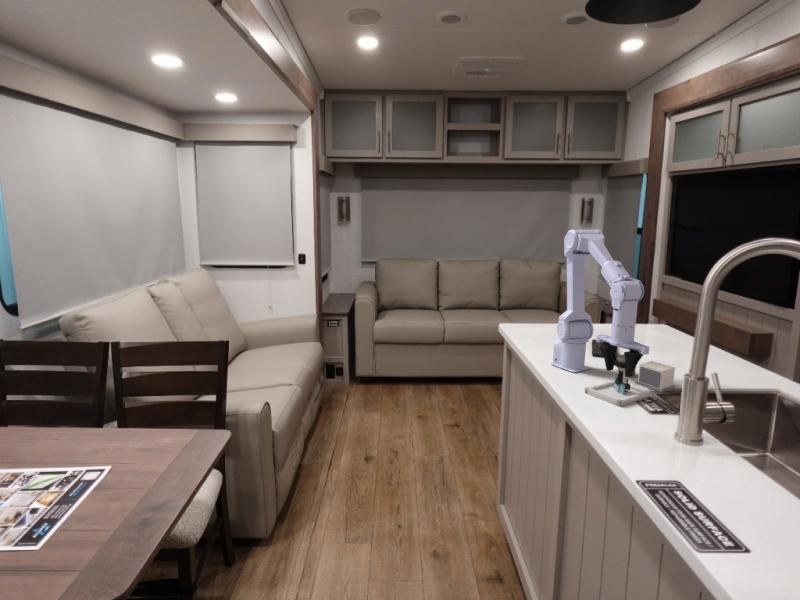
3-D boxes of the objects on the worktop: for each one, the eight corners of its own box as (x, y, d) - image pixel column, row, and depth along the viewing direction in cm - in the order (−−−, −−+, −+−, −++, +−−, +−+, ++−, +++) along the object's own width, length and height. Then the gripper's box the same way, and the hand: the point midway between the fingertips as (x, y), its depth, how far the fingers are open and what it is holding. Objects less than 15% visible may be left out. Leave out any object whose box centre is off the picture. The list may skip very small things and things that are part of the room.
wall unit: (635, 383, 144) (637, 363, 143) (649, 379, 148) (651, 360, 147) (661, 392, 138) (663, 371, 136) (675, 387, 141) (677, 367, 140)
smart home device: (615, 341, 185) (618, 355, 167) (614, 345, 185) (617, 360, 167) (591, 338, 188) (592, 353, 170) (591, 343, 188) (591, 357, 170)
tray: (584, 392, 137) (585, 387, 136) (614, 384, 143) (614, 379, 143) (619, 406, 128) (620, 401, 127) (649, 397, 134) (650, 391, 134)
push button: (638, 396, 133) (641, 361, 131) (619, 397, 132) (622, 362, 130) (624, 386, 139) (627, 353, 137) (606, 387, 139) (609, 354, 136)
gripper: (591, 321, 136) (587, 368, 138) (639, 332, 124) (634, 383, 126) (607, 318, 139) (603, 364, 142) (656, 329, 127) (650, 379, 130)
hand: (619, 373), depth 134 cm, fingers closed on push button, 5 cm apart
